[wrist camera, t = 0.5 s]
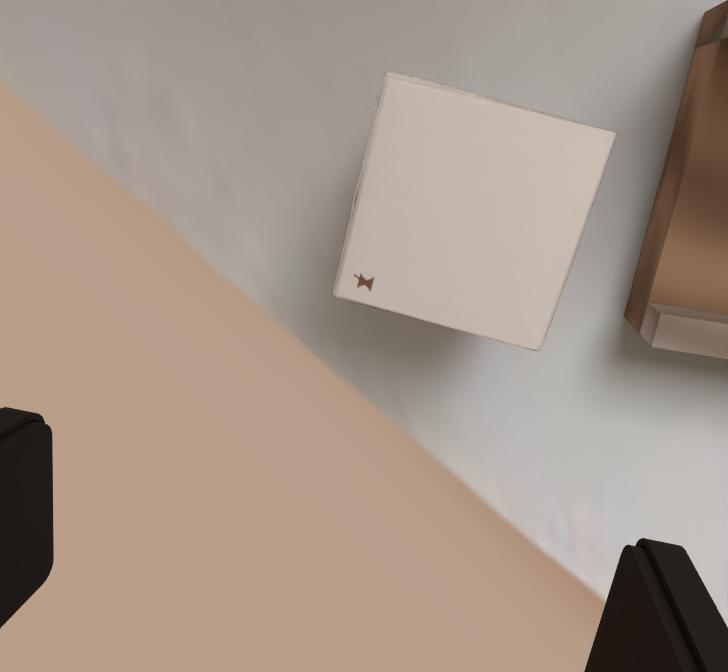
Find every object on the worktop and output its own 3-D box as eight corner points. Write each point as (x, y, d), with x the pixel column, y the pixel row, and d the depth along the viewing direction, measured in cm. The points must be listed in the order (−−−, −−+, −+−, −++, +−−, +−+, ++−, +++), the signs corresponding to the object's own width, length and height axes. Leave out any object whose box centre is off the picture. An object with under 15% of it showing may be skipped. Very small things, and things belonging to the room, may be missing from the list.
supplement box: (512, 281, 33) (540, 363, 21) (374, 242, 33) (322, 300, 21) (562, 135, 30) (626, 131, 18) (412, 94, 31) (378, 66, 19)
